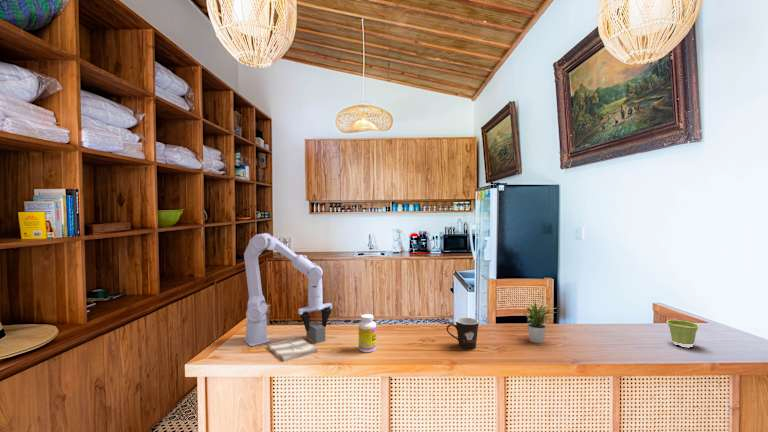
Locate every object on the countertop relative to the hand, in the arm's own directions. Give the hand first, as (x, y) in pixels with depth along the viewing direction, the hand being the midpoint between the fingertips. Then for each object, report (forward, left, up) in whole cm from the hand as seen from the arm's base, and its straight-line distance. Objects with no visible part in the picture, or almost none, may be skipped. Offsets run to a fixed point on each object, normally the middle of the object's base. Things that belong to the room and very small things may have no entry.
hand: (315, 328), depth 140 cm
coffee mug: (+43, +41, -5) cm, 60 cm away
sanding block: (0, 0, -5) cm, 5 cm away
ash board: (+4, -12, -5) cm, 13 cm away
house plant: (+59, +67, -5) cm, 90 cm away
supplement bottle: (+22, +10, -5) cm, 25 cm away
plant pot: (+96, +107, -5) cm, 144 cm away
